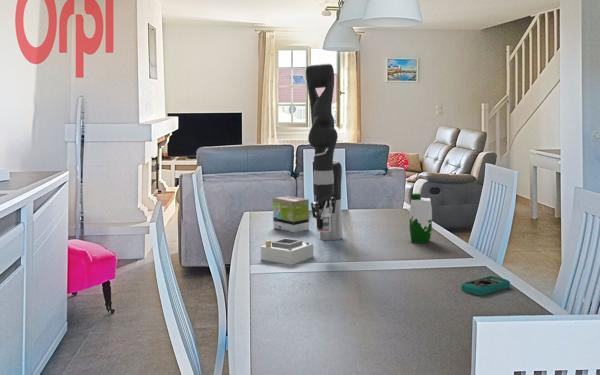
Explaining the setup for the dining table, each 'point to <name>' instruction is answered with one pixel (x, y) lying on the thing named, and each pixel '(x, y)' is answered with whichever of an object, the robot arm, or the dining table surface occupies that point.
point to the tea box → (291, 213)
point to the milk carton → (420, 219)
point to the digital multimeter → (485, 285)
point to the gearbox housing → (286, 251)
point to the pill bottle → (326, 221)
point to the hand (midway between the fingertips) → (324, 226)
